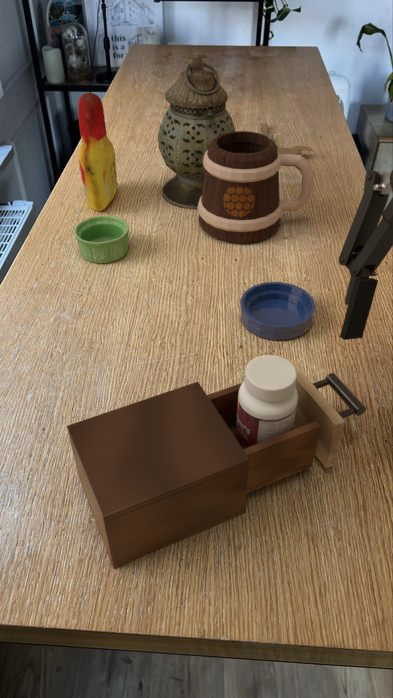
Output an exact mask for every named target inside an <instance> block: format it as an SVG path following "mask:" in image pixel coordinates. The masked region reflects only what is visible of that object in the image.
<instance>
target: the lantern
mask: <svg viewBox="0 0 393 698" xmlns="http://www.w3.org/2000/svg"><path fill="white" fill-rule="evenodd" d="M187 64H188V66H187V67H186V68H185V70H184V71H182V72H180V74H179V76H178V77H177V79H176V80H175V82H174V83H172V85H171V86H170V87H169V88H168V89H167V90H166V91H165V92H164V100H165V101H166V102H167V103H169V106H168V108H167V110H166V111H165V114H164V115H163V118H162V120H161V123H160V126H159V130H158V132H157V142H158V143H157V145H158V150H159V152H160V154H161V157H162V159H163V161H164V164H165V165H166V167H168V168H169V169H170V170H171V171H172V172H173V173H174V174H175V175H174V176H173V177H171V179H169V180H168V181H167V182H166V183H165V184H164V185H163V186H162V187H161V192H162V197H163V199H164V200H165V202H167V203H169V204H170V205H172V206H175V207H177V208H181V209H189V210H198V203H199V200H200V198H201V196H202V191H203V182H204V173H205V168H204V164H203V159H204V155H205V153H206V151H207V150H208V147H209V144H210V142H211V141H212V140H214V139H215V138H216V137H218V136H219V135H222V134H224V133H228V132H234V131H236V127H235V124H234V121H233V118H232V116H231V114H230V112H229V111H228V110H227V105H226V104H227V102H228V100H229V97H228V92H227V91H226V89H224V87H223V86H222V85H221V79H220V76H219V73H218V72H217V70H216V69H215V68H214V67H213V66H212V65H210V64H209V63H206V62H205V61H204V60H203V59H202V57H200V56H199V55H193V56H192V57H190V58H189V60H188V63H187ZM204 68H206V69H204ZM207 69H208V70H207Z"/></svg>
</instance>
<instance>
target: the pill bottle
mask: <svg viewBox="0 0 393 698" xmlns="http://www.w3.org/2000/svg"><path fill="white" fill-rule="evenodd" d="M288 360H289V359H287V358H285V357H282V356H279V355H277V354H276V355H275V354H263V355H259V356H256V357H254V358H252V359H251V360H250V361H249V362H248V363H247V365H246V366H245V371H244V377H243V381H242V382H241V383H242V384H241V386H240V389H239V395H238V408H237V422H236V440H237V441H238V443H239V444H240V446H241V447H242V449H245V448H248V447H251V446H253V445H256V444H258V443H261V442H263V441H266V440H269V439H271V438H274V437H276V436H279V435H281V434H284V433H287V432H289V431H292V430H294V421H295V415H296V409H297V403H298V393H297V390H296V379H297V372H296V369H295V367H294V365H293V364H292V363H291V362H290V361H288Z"/></svg>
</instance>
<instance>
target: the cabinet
mask: <svg viewBox="0 0 393 698" xmlns="http://www.w3.org/2000/svg"><path fill="white" fill-rule="evenodd" d="M203 388H204V387H202V385H201V384H200V382H199V381H194V382H192V383H188V384H187V385H186V384H185V385H183V386H180V387H178V388H175V389H172V390H169V391H166V392H163V393H160V394H156V395H154V396H151V397H147V398H145V399H141V400H139V401H136V402H133V403H130V404H127V405H124V406H120V407H118V408H115V409H113V410H109V411H106V412H103V413H100V414H97V415H95V416H91V417H88V418H85V419H82V420H80V421H77V422H73V423H71V424H68V425H66V430H67V433H68V437H69V442H70V446H71V450H72V455H73V459H74V463H75V467H76V472H77V475H78V480H79V482H80V484H81V487H82V490H83V493H84V496H85V499H86V500H87V503H88V506H89V508H90V510H91V513H92V516H93V518H94V521H95V524H96V526H97V529H98V533H99V535H100V537H101V540H102V542H103V544H104V547H105V550H106V553H107V555H108V558H109V561H110V563H111V565H112V568H113V569H116V568H118V567H121V566H124V565H125V564H128V563H130V562H133V561H134V560H135V561H136V560H137V559H139V558H142V557H144V556H147V555H149V554H152V553H153V552H156V551H158V550H161V549H163V548H166V547H168V546H170V545H173V544H175V543H178V542H180V541H182V540H184V539H187V538H190V537H191V536H193V535H196V534H199V533H201V532H204V531H206V530H207V529H210V528H212V527H215V526H217V525H219V524H222V523H225V522H226V521H229V520H231V519H234V518H236V517H238V516H240V515H243V514H245V513H246V507H247V496H248V493H247V485H248V473H249V458H248V456H247V455H246V453H245V452H244V450H243V449H242V447H241V446H240V444H239V443H238V441H237V440H236V438H235V437H234V435H233V434H232V432H231V431H230V429H229V428H228V426H227V425H226V423H225V422H224V420H223V419H222V417H221V416H220V414H219V413H218V411H217V410H216V408H215V407H214V405H213V404H212V402H211V401H210V399H209V397H208V396H207V395H208V394H207V393H206V392H205V390H204V389H203Z"/></svg>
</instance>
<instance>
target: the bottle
mask: <svg viewBox="0 0 393 698" xmlns="http://www.w3.org/2000/svg"><path fill="white" fill-rule="evenodd" d="M78 125H79V134H80V137H81V144H80V147H79V152H78V164H79V171H80V172H79V173H80V177H81V183H82V188H83V189H82V190H83V192H84V197H85V200H86V203H87V205H88V206H89V207H90V208H91V209H92V210H94V211H103V210H105V208H107V207H108V206H109V204H110V203H111V202H112V200H113V199H114V197H115V194H116V193H117V186H118V185H119V183H118V179H117V178H118V173H117V165H116V151H115V147H114V145H113V142H112V141H111V140H110V139H109V137H108V134H107V133H108V132H107V127H106V126H107V125H106V118H105V111H104V104H103V101H102V99H101V97H100V96H99V95H97V94H96V93H93V92H86V93H85V92H84V93H83V94H82V95H81V96H80V97H79V99H78Z"/></svg>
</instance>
